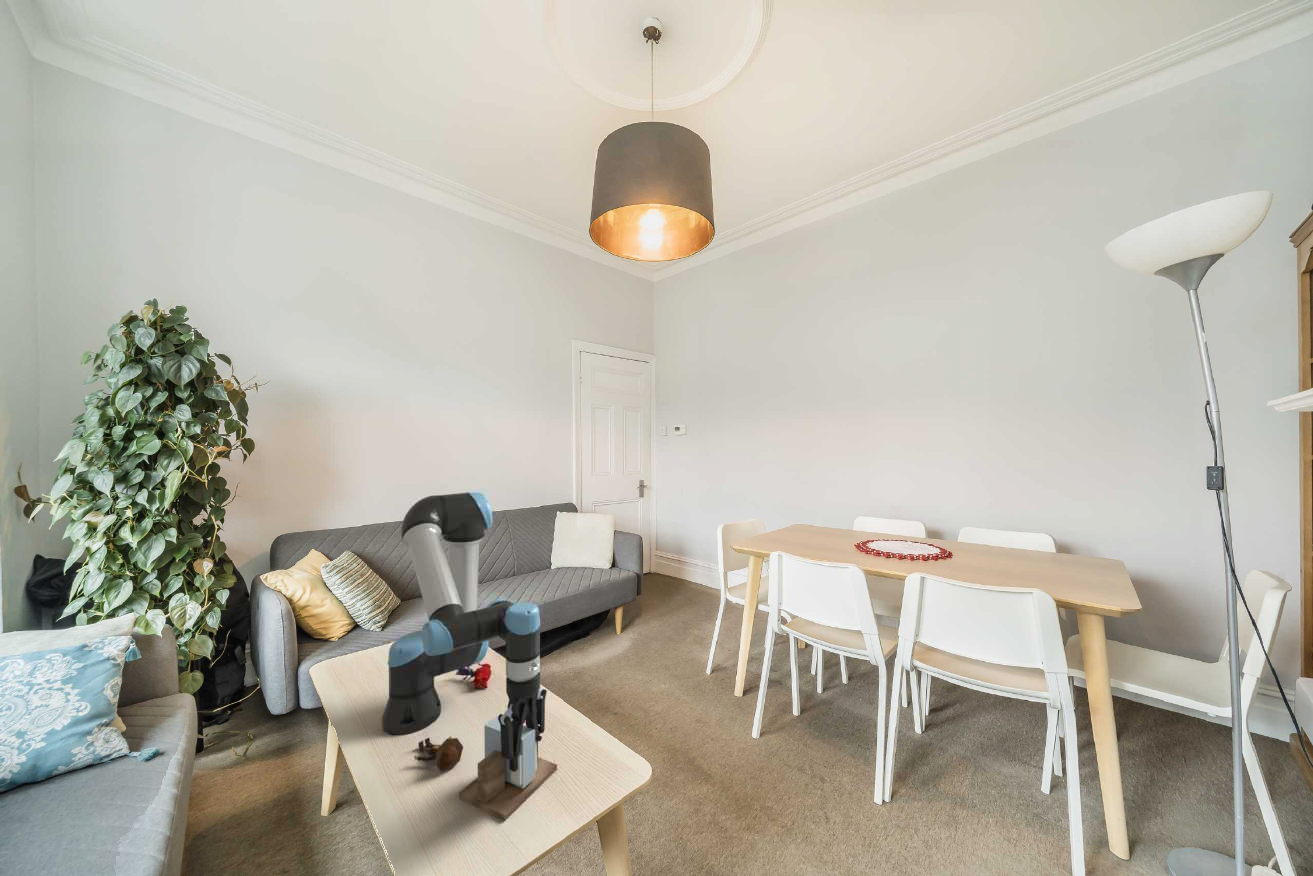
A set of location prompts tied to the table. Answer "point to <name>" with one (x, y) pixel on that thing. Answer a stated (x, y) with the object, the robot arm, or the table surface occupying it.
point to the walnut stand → (502, 786)
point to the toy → (442, 753)
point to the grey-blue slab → (526, 750)
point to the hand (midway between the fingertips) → (524, 775)
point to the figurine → (477, 674)
